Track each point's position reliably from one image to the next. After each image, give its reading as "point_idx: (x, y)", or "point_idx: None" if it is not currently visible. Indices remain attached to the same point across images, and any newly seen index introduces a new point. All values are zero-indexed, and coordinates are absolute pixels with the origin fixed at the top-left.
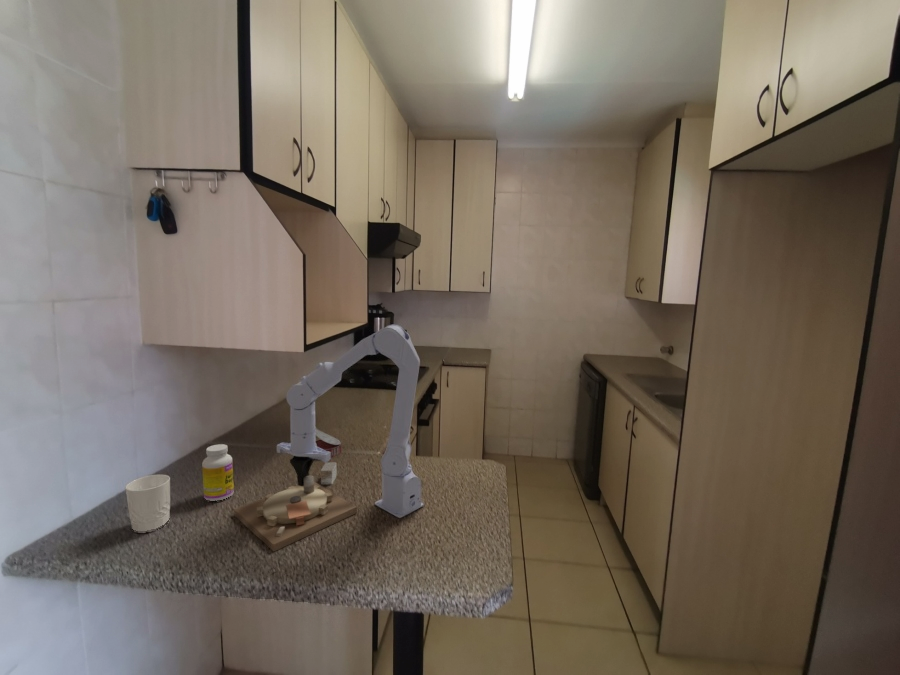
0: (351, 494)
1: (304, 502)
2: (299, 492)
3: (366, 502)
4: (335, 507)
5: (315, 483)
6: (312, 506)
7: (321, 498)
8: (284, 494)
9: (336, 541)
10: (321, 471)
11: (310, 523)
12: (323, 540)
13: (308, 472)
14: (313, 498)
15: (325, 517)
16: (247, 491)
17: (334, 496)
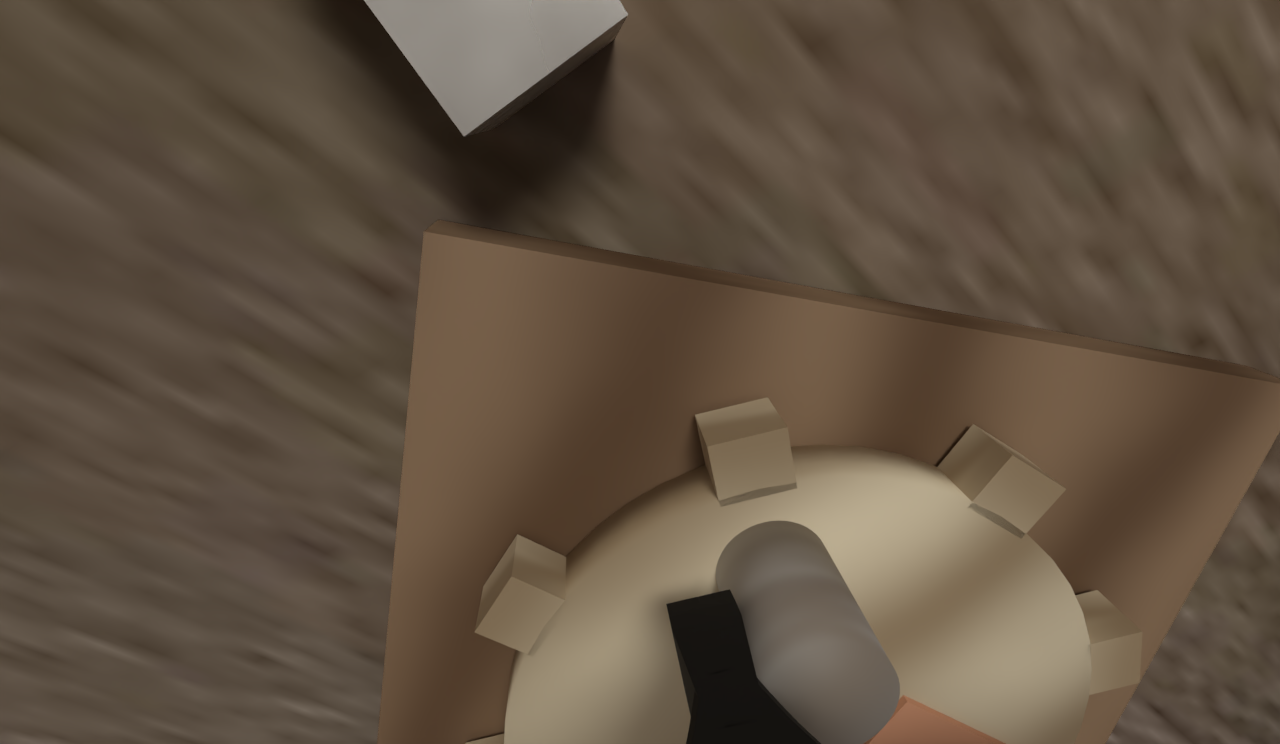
0: (1006, 114)
1: (914, 724)
2: None
3: (1252, 163)
4: (1112, 503)
5: (534, 269)
6: (1020, 712)
7: (1003, 588)
8: (598, 732)
9: (1264, 678)
10: (474, 126)
11: None
12: (1177, 713)
13: (759, 680)
14: (929, 631)
15: None
16: (3, 664)
17: (975, 367)
